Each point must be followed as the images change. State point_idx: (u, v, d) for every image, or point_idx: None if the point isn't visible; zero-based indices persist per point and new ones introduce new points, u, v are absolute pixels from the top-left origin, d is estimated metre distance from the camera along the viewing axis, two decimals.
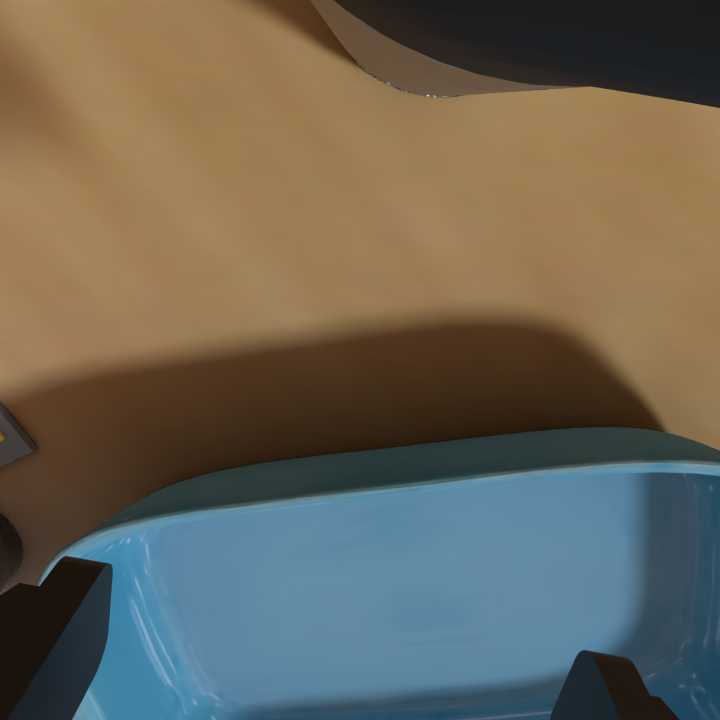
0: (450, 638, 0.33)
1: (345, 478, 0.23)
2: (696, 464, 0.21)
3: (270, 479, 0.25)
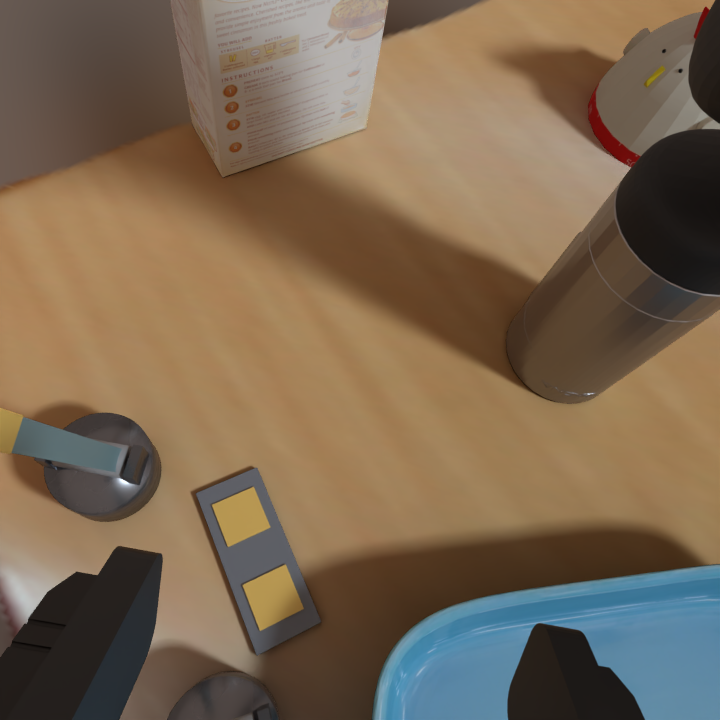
0: None
1: None
2: None
3: None
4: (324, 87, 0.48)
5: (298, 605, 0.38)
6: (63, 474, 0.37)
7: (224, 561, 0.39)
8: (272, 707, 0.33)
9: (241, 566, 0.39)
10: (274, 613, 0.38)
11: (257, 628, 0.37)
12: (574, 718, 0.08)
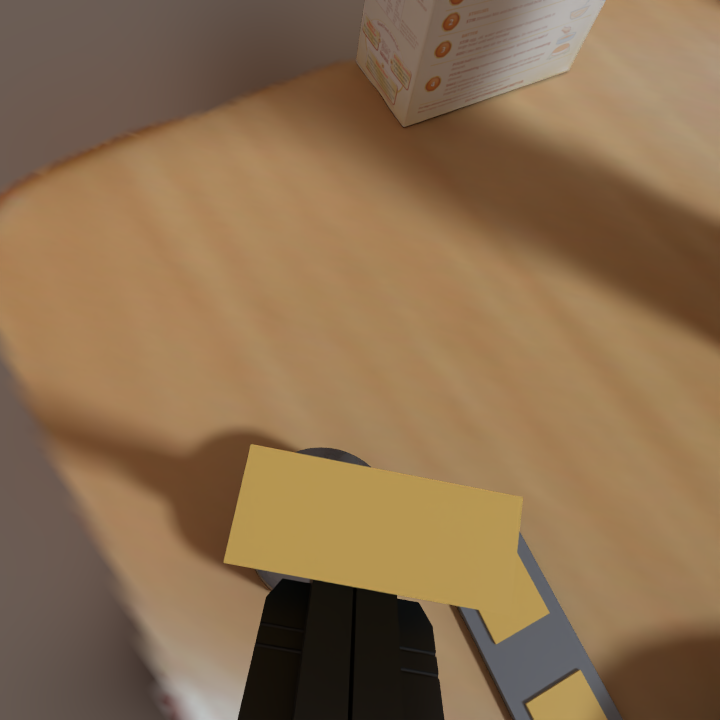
0: None
1: None
2: None
3: None
4: (555, 3, 0.36)
5: None
6: None
7: (493, 666, 0.26)
8: None
9: (518, 673, 0.26)
10: None
11: None
12: (353, 639, 0.09)
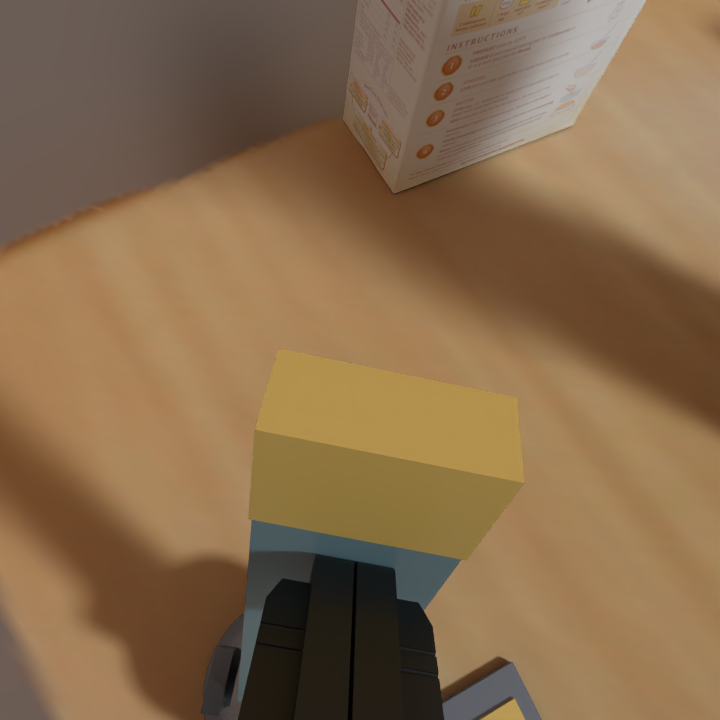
0: None
1: None
2: None
3: None
4: (558, 64, 0.33)
5: None
6: (236, 717, 0.21)
7: None
8: None
9: None
10: None
11: None
12: (353, 639, 0.09)
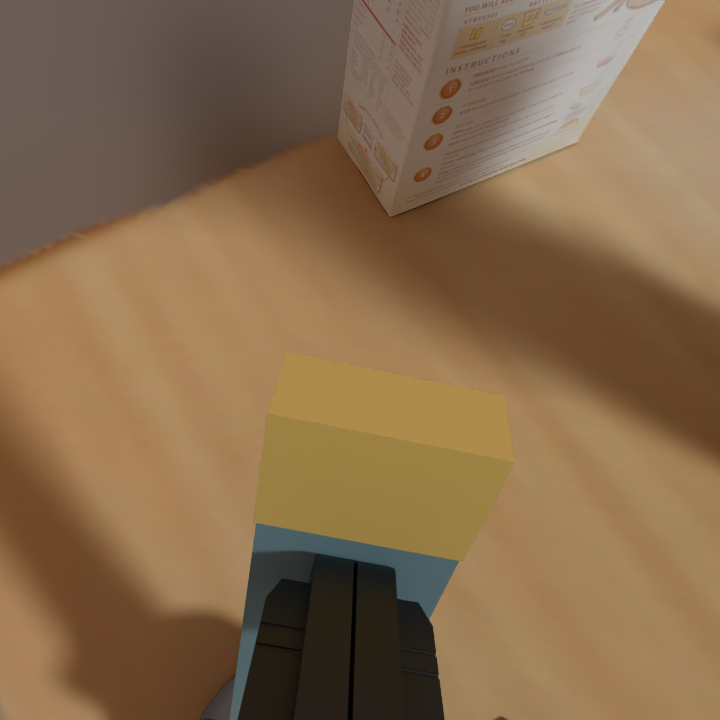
0: None
1: None
2: None
3: None
4: (563, 84, 0.31)
5: None
6: None
7: None
8: None
9: None
10: None
11: None
12: (354, 639, 0.09)
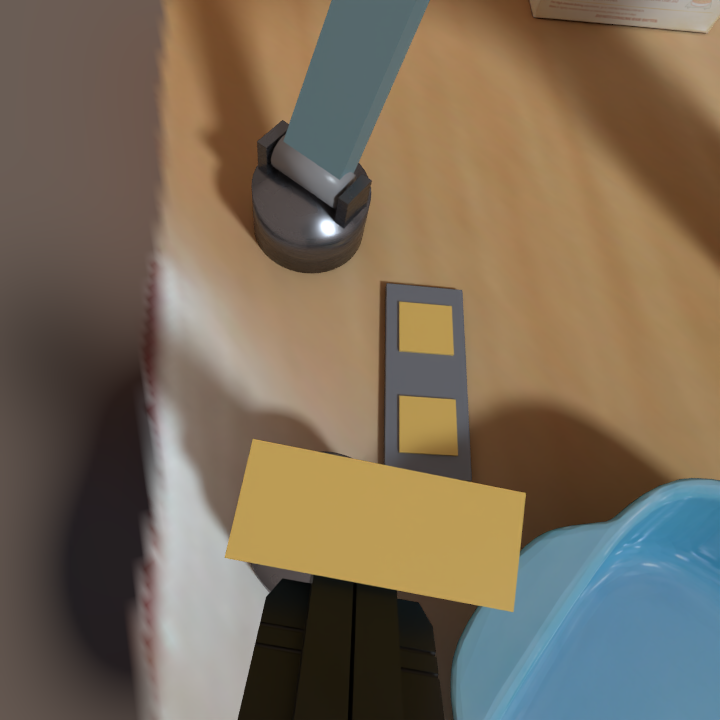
0: None
1: None
2: None
3: None
4: None
5: (452, 448, 0.30)
6: (272, 182, 0.32)
7: (389, 363, 0.32)
8: None
9: (405, 377, 0.31)
10: (422, 442, 0.30)
11: (397, 448, 0.30)
12: (353, 640, 0.09)
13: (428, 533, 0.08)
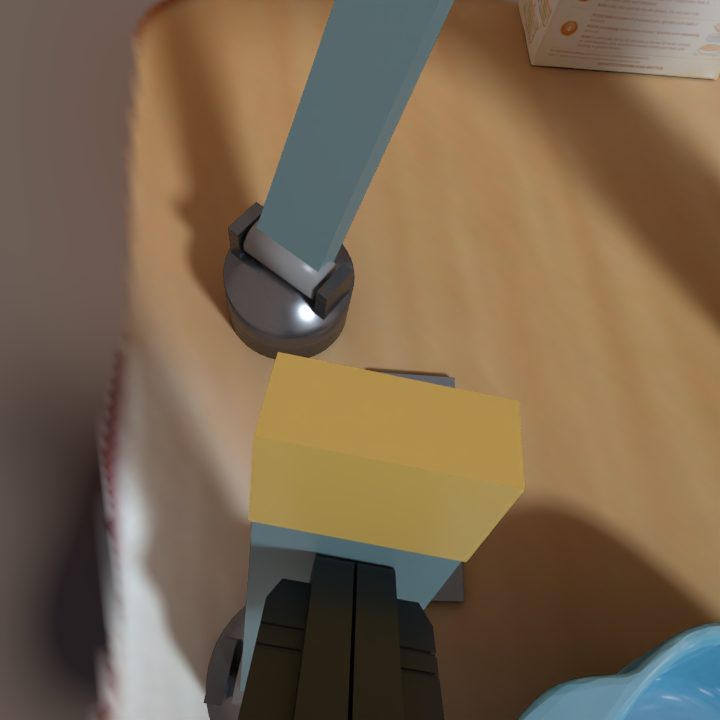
0: None
1: None
2: None
3: None
4: None
5: None
6: (245, 268, 0.29)
7: None
8: None
9: None
10: None
11: None
12: (353, 639, 0.09)
13: (438, 426, 0.08)
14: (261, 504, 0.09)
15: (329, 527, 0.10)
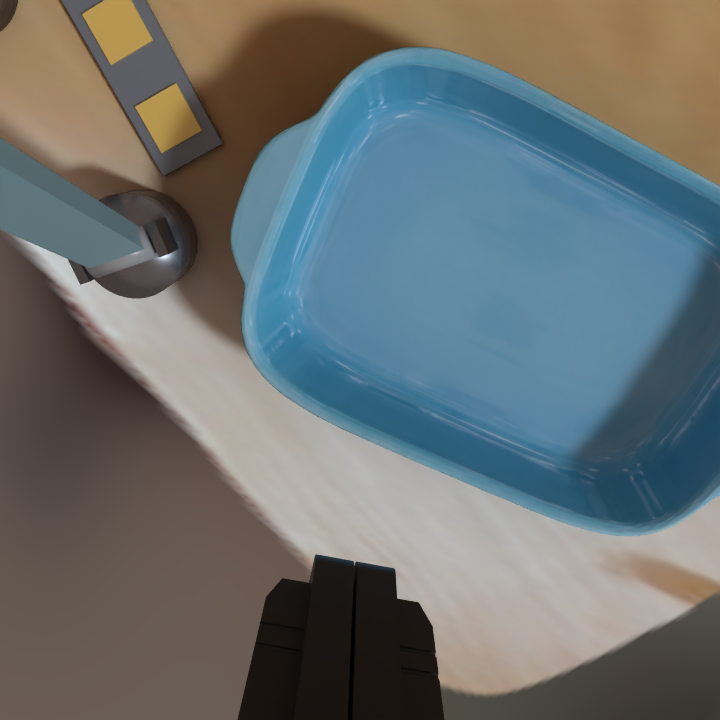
0: (503, 354, 0.41)
1: None
2: None
3: None
4: None
5: (195, 127, 0.37)
6: None
7: (111, 81, 0.36)
8: (169, 220, 0.36)
9: (130, 86, 0.36)
10: (172, 135, 0.37)
11: (158, 150, 0.37)
12: (353, 639, 0.09)
13: None
14: None
15: None
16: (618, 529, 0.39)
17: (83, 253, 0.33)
